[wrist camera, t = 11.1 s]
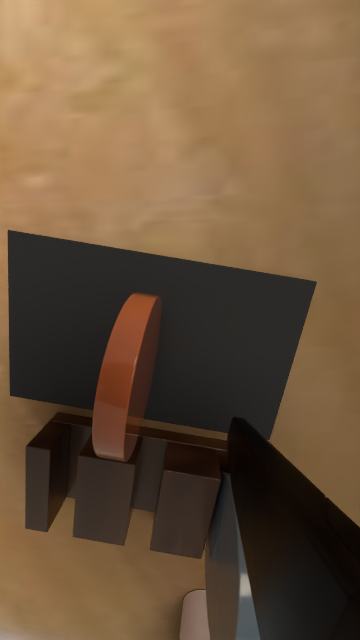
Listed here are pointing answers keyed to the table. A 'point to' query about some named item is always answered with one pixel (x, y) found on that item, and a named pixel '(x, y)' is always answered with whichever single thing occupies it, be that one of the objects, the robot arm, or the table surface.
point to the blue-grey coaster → (227, 573)
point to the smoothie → (194, 617)
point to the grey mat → (175, 333)
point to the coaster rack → (125, 484)
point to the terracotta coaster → (126, 377)
